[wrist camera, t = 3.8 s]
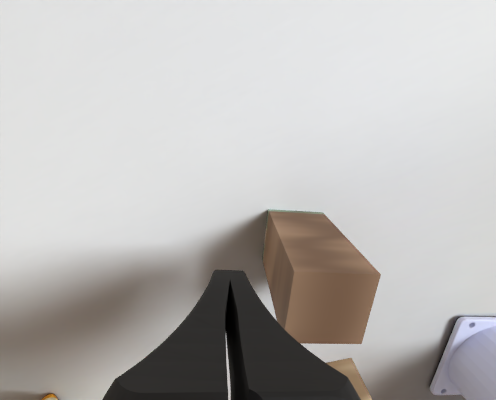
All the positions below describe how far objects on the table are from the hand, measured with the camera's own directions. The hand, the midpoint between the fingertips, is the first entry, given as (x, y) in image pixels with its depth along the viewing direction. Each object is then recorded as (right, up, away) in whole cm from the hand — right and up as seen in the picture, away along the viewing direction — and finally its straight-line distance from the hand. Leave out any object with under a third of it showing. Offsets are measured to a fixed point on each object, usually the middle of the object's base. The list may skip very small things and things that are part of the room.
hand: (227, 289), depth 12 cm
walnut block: (+4, +2, +6) cm, 7 cm away
